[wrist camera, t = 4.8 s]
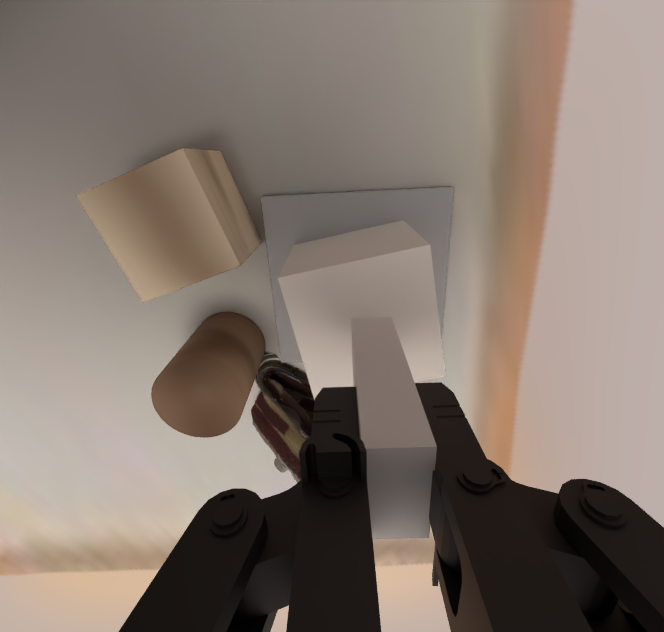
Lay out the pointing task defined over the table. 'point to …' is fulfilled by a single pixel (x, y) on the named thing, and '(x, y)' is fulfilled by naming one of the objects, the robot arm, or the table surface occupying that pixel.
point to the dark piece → (283, 411)
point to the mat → (347, 216)
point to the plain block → (362, 299)
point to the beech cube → (173, 221)
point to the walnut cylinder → (210, 376)
